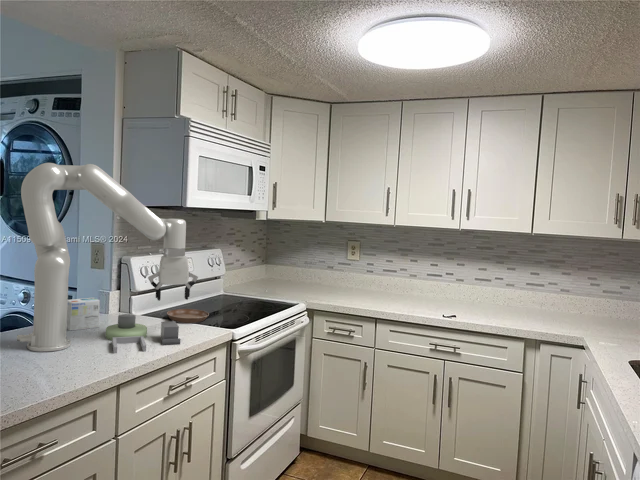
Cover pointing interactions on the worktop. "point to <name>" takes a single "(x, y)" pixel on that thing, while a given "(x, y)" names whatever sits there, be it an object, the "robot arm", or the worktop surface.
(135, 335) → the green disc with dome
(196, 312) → the plant saucer
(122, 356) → the worktop surface
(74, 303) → the light bulb box
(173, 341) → the grey sliding block
